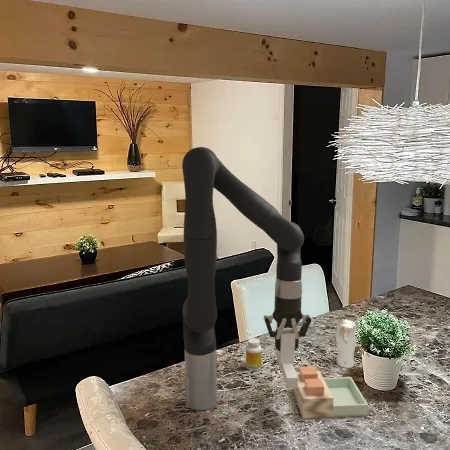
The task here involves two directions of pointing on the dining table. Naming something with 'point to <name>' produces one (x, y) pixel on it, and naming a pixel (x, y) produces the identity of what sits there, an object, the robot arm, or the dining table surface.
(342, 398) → the box
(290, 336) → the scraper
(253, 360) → the supplement bottle
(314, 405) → the tan block
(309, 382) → the tile front
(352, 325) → the beer glass
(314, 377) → the tile back
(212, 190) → the robot arm
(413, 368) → the dining table surface
